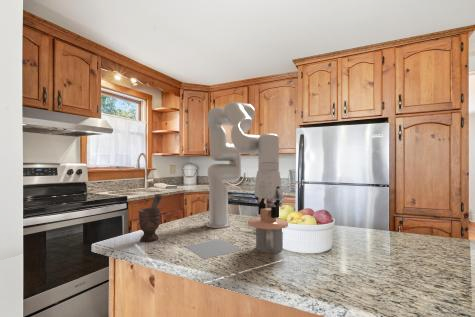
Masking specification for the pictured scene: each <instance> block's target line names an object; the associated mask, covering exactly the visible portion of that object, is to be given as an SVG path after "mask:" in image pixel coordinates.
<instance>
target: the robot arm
mask: <svg viewBox="0 0 475 317" xmlns="http://www.w3.org/2000/svg"><path fill="white" fill-rule="evenodd" d="M255 116H256V112H255V108H254V106H253V105H252V104H251V103H246V102H237V101H230V102H228V103H227V104H226V105H225V106H224V107H219V106H217V107H212V108H210V109H209V110H208V113H207V119H206V121H207V126H208V130H209V136H210V138H209V140H210V141H209V143H210V145H209V148H210V149H209V150H210V152H209V153H210V158H211V160H213V161H215V162H229V163H214V164H211V165H210V166H208V168H207V179H208V186H209V188H208V190H209V192H208V193H209V194H208V195H209V198H208V199H209V200H208V201H209V206H208V210H209V211H208V212H209V213H208V214H209V215H208V216H207V219H208V221H207V222H206V224H205V226H206V227H207V228H211V229H224V228H228V227H231V225H232V223H231V222H230V221H229V219H228V217H229V216H228V214H229V212H228V211H229V191H228V188H227V186H226V184H225V183H234V182H237V181H239V180H240V179H241V175H242V165H241V164H242V162H241V160H242V158H241V156H242V155H241V154H244V155H258V162H257V163H258V169H257V171H256V175H255V183H254V184H255V186H254V192H253V194H254V196H255V199H256V201H257V202H256V203H257V205H258V207H257V208H258V209H257V211H258V213H257V214H258V215H260V211H261V209H264V208H266V203H265V202H266V199H271V202H272V206H273V207H271V218H278V217H279V206H280V204H281V203H282V204H283V202H284V200H285V198H286V197H285V195H284V193H283V191H282V192H281V188H282V180H281V172H280V138H279V135H277V134H275V133H263V134H247V133H248V132H249V131H250V130H251V128H252V126H253V120H254V118H255ZM222 125H223V126H232V128H231V132H230V139H231V143H229V142H228V140H227V139H228V138H227V137H228V136H227V135H228V134H227V131H226V130H225V128H224V127H223V126H222ZM274 200H276V202H275V201H274Z"/></svg>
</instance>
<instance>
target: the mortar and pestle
mask: <svg viewBox="0 0 475 317" xmlns="http://www.w3.org/2000/svg"><path fill="white" fill-rule="evenodd" d="M162 198H163V196H162V194H160V193H156V194H155V195H154V197H153V201H152V204H151V207H144V208H140V209H139V210H138V224H139V227H140V228H139V229H140V230H141V231H142V232H143V234H142V236H141V237H140V240H139V242H140V243H147V244H148V243H154V242H156V241H157V242H158V241H159V238H160V237H159V236H158V234H157V233H156V231H157V230H158V229H159V226H160V223H161V213H162V212H161V210H162V208H159V207H158V206H159V204H160V203H161V201H162Z"/></svg>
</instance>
